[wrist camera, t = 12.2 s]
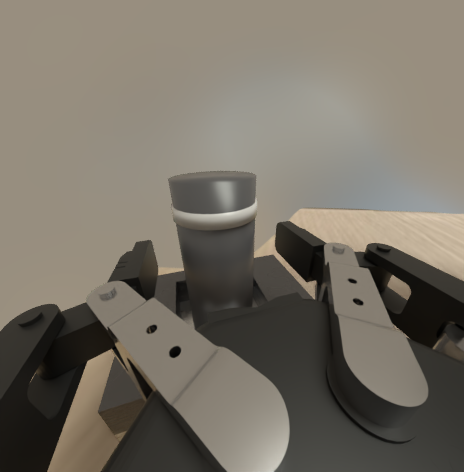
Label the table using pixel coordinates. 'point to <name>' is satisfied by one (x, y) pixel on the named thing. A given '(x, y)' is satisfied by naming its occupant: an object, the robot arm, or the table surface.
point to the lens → (216, 238)
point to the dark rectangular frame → (177, 300)
